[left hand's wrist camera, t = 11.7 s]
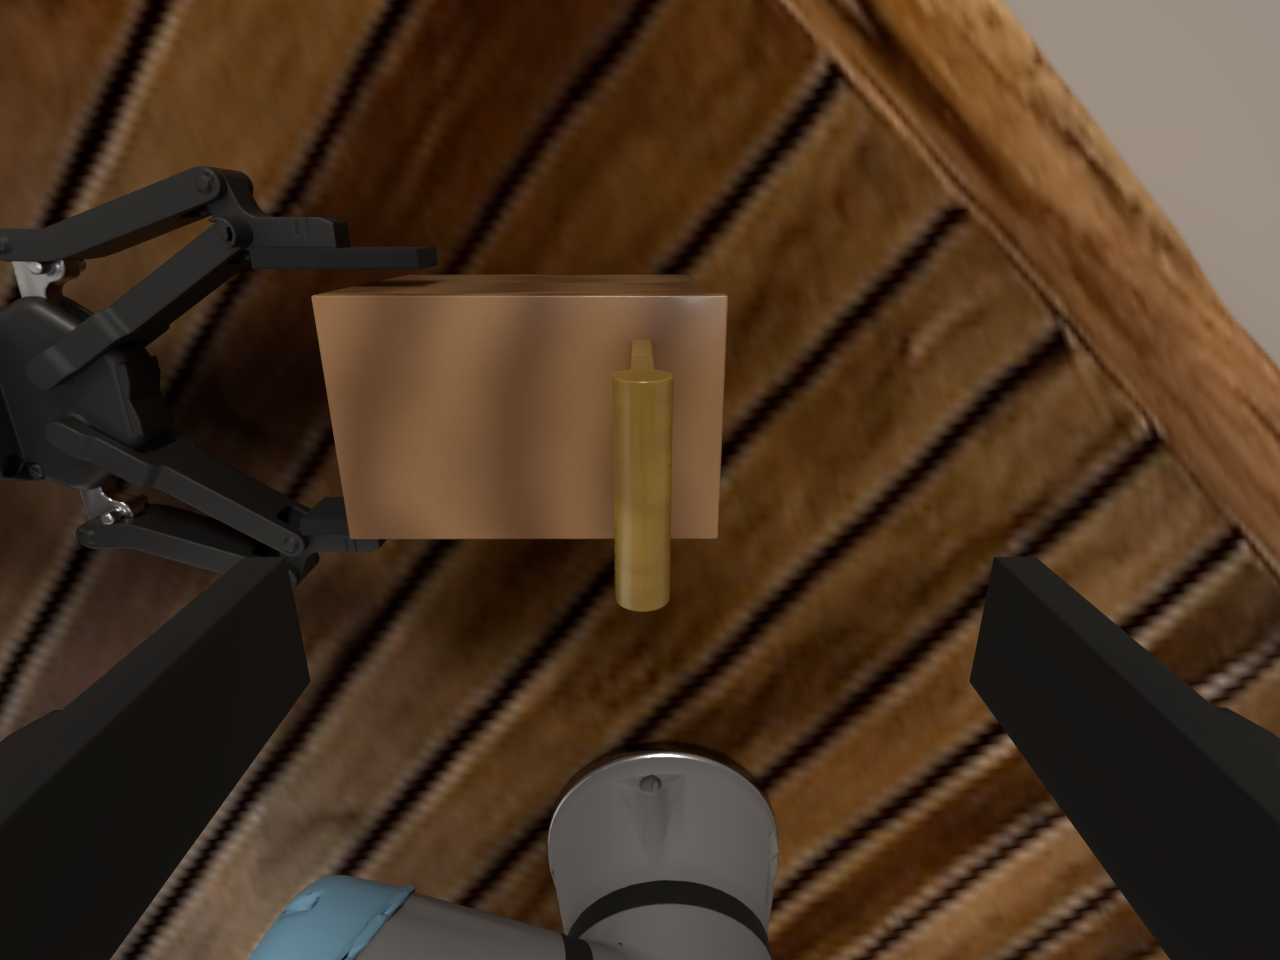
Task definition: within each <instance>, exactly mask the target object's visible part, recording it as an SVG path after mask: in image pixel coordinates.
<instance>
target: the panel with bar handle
mask: <svg viewBox="0 0 1280 960" xmlns="http://www.w3.org/2000/svg"><path fill="white" fill-rule="evenodd" d="M312 303H313V310H314V316H315V322H316V328H317V335H318V341H319V347H320V353H321V359H322V366H323V372H324V378H325V384H326V391H327V397H328V403H329V409H330V416H331V422H332V428H333V434H334V440H335V447H336V453H337V459H338V465H339V472H340V478H341V484H342V490H343V496H344V503H345V509H346V515H347V521H348V528H349V534H350V539H614V549H615V599H616V601H617V603H618V604H619V605H620V606H621V607H623V608H625V609H628V610H631V611H636V612H649V611H654V610H658V609H660V608H662V607H664V606H665V605H666V604H667V603H668V601H669V599H670V557H671V539H717V538H718V518H719V495H720V472H721V448H722V425H723V402H724V378H725V355H726V332H727V309H728V296H727V295H726V294H724V293H322V294H318V295H313V296H312Z"/></svg>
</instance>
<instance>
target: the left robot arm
mask: <svg viewBox="0 0 1280 960" xmlns="http://www.w3.org/2000/svg"><path fill="white" fill-rule="evenodd" d="M309 683H310V677H309V672H308V667H307V661H306V656H305V651H304V646H303V641H302V636H301V631H300V626H299V621H298V616H297V611H296V606H295V601H294V596H293V591H292V586H291V581H290V576H289V571H288V566H287V561H286V557H244V558H243V559H242V560H240V561H239V562H238V563H237V564H236V565H234V566H233V567H232V568H231V569H230V570H228V571H227V572H226V573H225V574H224V575H223V576H221V577H220V578H219V579H218V580H217V581H215V582H214V583H213V584H212V585H211V586H209V587H208V588H207V589H206V590H205V591H203V592H202V593H201V594H200V595H199V596H198V597H196V598H195V599H194V600H193V601H192V602H190V603H189V604H188V605H187V606H186V607H184V608H183V609H182V610H181V611H180V612H178V613H177V614H176V615H175V616H174V617H173V618H171V619H170V620H169V621H168V622H167V623H165V624H164V625H163V626H162V627H161V628H159V629H158V630H157V631H156V632H155V633H153V634H152V635H151V636H150V637H149V638H147V639H146V640H145V641H144V642H143V643H142V644H140V645H139V646H138V647H137V648H136V649H134V650H133V651H132V652H131V653H130V654H128V655H127V656H126V657H125V658H124V659H122V660H121V661H120V662H119V663H118V664H117V665H115V666H114V667H113V668H112V669H111V670H109V671H108V672H107V673H106V674H105V675H103V676H102V677H101V678H100V679H99V680H97V681H96V682H95V683H94V684H93V685H91V686H90V687H89V688H88V689H87V690H86V691H84V692H83V693H82V694H81V695H80V696H78V697H77V698H76V699H75V700H74V701H72V702H71V703H70V704H69V705H68V706H66V707H65V708H64V709H63V710H54V711H52V712H50V713H48V714H47V715H45V716H43V717H41V718H39V719H38V720H36V721H34V722H32V723H30V724H28V725H27V726H25V727H23V728H21V729H19V730H18V731H16V732H14V733H12V734H10V735H9V736H8V737H6V738H5V739H4V740H3V741H1V742H0V960H110V959H111V957H112V956H113V954H114V953H115V952H116V950H117V949H118V948H119V946H120V945H121V943H122V942H123V941H124V939H125V938H126V936H127V935H128V934H129V932H130V931H131V929H132V928H133V927H134V925H135V924H136V923H137V921H138V920H139V918H140V917H141V916H142V914H143V913H144V911H145V910H146V909H147V907H148V906H149V905H150V903H151V902H152V900H153V899H154V898H155V896H156V895H157V893H158V892H159V891H160V889H161V888H162V887H163V885H164V884H165V882H166V881H167V880H168V878H169V877H170V875H171V874H172V873H173V871H174V870H175V869H176V867H177V866H178V864H179V863H180V862H181V860H182V859H183V857H184V856H185V855H186V853H187V852H188V851H189V849H190V848H191V846H192V845H193V844H194V842H195V841H196V839H197V838H198V837H199V835H200V834H201V833H202V831H203V830H204V828H205V827H206V826H207V824H208V823H209V821H210V820H211V819H212V817H213V816H214V815H215V813H216V812H217V810H218V809H219V808H220V806H221V805H222V803H223V802H224V801H225V799H226V798H227V797H228V795H229V794H230V792H231V791H232V790H233V788H234V787H235V785H236V784H237V783H238V781H239V780H240V779H241V777H242V776H243V774H244V773H245V772H246V770H247V769H248V767H249V766H250V765H251V763H252V762H253V760H254V759H255V758H256V756H257V755H258V754H259V752H260V751H261V749H262V748H263V747H264V745H265V744H266V742H267V741H268V740H269V738H270V737H271V736H272V734H273V733H274V731H275V730H276V729H277V727H278V726H279V724H280V723H281V722H282V720H283V719H284V718H285V716H286V715H287V713H288V712H289V711H290V709H291V708H292V706H293V705H294V704H295V702H296V701H297V700H298V698H299V697H300V695H301V694H302V693H303V691H304V690H305V688H306V687H307V686H308V684H309ZM970 683H971V684H972V686H973V687H974V688H975V690H976V691H977V693H978V694H979V695H980V697H981V698H982V700H983V701H984V702H985V704H986V705H987V706H988V708H989V709H990V711H991V712H992V713H993V715H994V716H995V718H996V719H997V720H998V722H999V723H1000V724H1001V726H1002V727H1003V729H1004V730H1005V731H1006V733H1007V734H1008V736H1009V737H1010V738H1011V740H1012V741H1013V742H1014V744H1015V745H1016V747H1017V748H1018V749H1019V751H1020V752H1021V754H1022V755H1023V756H1024V758H1025V759H1026V760H1027V762H1028V763H1029V765H1030V766H1031V767H1032V769H1033V770H1034V772H1035V773H1036V774H1037V776H1038V777H1039V779H1040V780H1041V781H1042V783H1043V784H1044V785H1045V787H1046V788H1047V790H1048V791H1049V792H1050V794H1051V795H1052V797H1053V798H1054V799H1055V801H1056V802H1057V803H1058V805H1059V806H1060V808H1061V809H1062V810H1063V812H1064V813H1065V815H1066V816H1067V817H1068V819H1069V820H1070V821H1071V823H1072V824H1073V826H1074V827H1075V828H1076V830H1077V831H1078V833H1079V834H1080V835H1081V837H1082V838H1083V839H1084V841H1085V842H1086V844H1087V845H1088V846H1089V848H1090V849H1091V851H1092V852H1093V853H1094V855H1095V856H1096V857H1097V859H1098V860H1099V862H1100V863H1101V864H1102V866H1103V867H1104V869H1105V870H1106V871H1107V873H1108V874H1109V875H1110V877H1111V878H1112V880H1113V881H1114V882H1115V884H1116V885H1117V887H1118V888H1119V889H1120V891H1121V892H1122V893H1123V895H1124V896H1125V898H1126V899H1127V900H1128V902H1129V903H1130V905H1131V906H1132V907H1133V909H1134V910H1135V911H1136V913H1137V914H1138V916H1139V917H1140V918H1141V920H1142V921H1143V923H1144V924H1145V925H1146V927H1147V928H1148V929H1149V931H1150V932H1151V934H1152V935H1153V936H1154V938H1155V939H1156V941H1157V942H1158V943H1159V945H1160V946H1161V948H1162V949H1163V950H1164V952H1165V953H1166V954H1167V956H1168V957H1169V959H1170V960H1280V739H1279V738H1278V737H1277V736H1275V735H1274V734H1273V733H1271V732H1270V731H1268V730H1266V729H1264V728H1262V727H1260V726H1259V725H1257V724H1255V723H1253V722H1251V721H1250V720H1248V719H1246V718H1244V717H1242V716H1240V715H1239V714H1237V713H1235V712H1233V711H1231V710H1229V709H1228V708H1215V707H1214V706H1212V705H1211V704H1210V703H1209V702H1208V701H1206V700H1205V699H1204V698H1203V697H1202V696H1200V695H1199V694H1198V693H1197V692H1196V691H1194V690H1193V689H1192V688H1191V687H1190V686H1189V685H1187V684H1186V683H1185V682H1184V681H1183V680H1181V679H1180V678H1179V677H1178V676H1177V675H1175V674H1174V673H1173V672H1172V671H1171V670H1169V669H1168V668H1167V667H1166V666H1165V665H1163V664H1162V663H1161V662H1160V661H1159V660H1158V659H1156V658H1155V657H1154V656H1153V655H1152V654H1150V653H1149V652H1148V651H1147V650H1146V649H1144V648H1143V647H1142V646H1141V645H1140V644H1138V643H1137V642H1136V641H1135V640H1134V639H1133V638H1131V637H1130V636H1129V635H1128V634H1127V633H1125V632H1124V631H1123V630H1122V629H1121V628H1119V627H1118V626H1117V625H1116V624H1115V623H1113V622H1112V621H1111V620H1110V619H1109V618H1107V617H1106V616H1105V615H1104V614H1103V613H1102V612H1100V611H1099V610H1098V609H1097V608H1096V607H1094V606H1093V605H1092V604H1091V603H1090V602H1088V601H1087V600H1086V599H1085V598H1084V597H1082V596H1081V595H1080V594H1079V593H1078V592H1077V591H1075V590H1074V589H1073V588H1072V587H1071V586H1069V585H1068V584H1067V583H1066V582H1065V581H1063V580H1062V579H1061V578H1060V577H1059V576H1057V575H1056V574H1055V573H1054V572H1053V571H1051V570H1050V569H1049V568H1048V567H1047V566H1046V565H1044V564H1043V563H1042V562H1041V561H1040V560H1038V559H1037V558H1036V557H994V561H993V566H992V571H991V576H990V581H989V586H988V591H987V596H986V601H985V606H984V611H983V616H982V621H981V626H980V631H979V636H978V641H977V646H976V651H975V656H974V661H973V667H972V672H971V677H970ZM778 853H779V850H778V834H777V827H776V823H775V818H774V814H773V810H772V807H771V804H770V801H769V799H768V797H767V795H766V793H765V791H764V790H763V788H762V787H761V785H760V784H759V783H758V781H757V780H756V779H755V778H754V777H753V776H752V775H751V774H750V773H749V772H748V771H747V770H746V769H744V768H743V767H742V766H741V765H739V764H738V763H736V762H735V761H733V760H731V759H730V758H728V757H726V756H724V755H722V754H720V753H717V752H715V751H712V750H709V749H707V748H703V747H699V746H695V745H690V744H685V743H675V742H653V743H643V744H637V745H632V746H628V747H624V748H621V749H618V750H615V751H612V752H610V753H608V754H605V755H603V756H601V757H599V758H597V759H595V760H594V761H592V762H591V763H589V764H588V765H586V766H585V767H584V768H582V769H581V770H580V771H579V772H577V773H576V774H575V775H574V776H573V777H572V778H571V779H570V781H569V782H568V783H567V784H566V785H565V787H564V788H563V790H562V791H561V793H560V795H559V797H558V799H557V801H556V803H555V806H554V808H553V812H552V817H551V822H550V829H549V837H548V857H549V867H550V871H551V874H552V878H553V881H554V885H555V887H556V891H557V897H558V903H559V908H560V913H561V918H562V923H563V928H564V933H565V935H564V934H561V933H559V932H556V931H553V930H549V929H545V928H542V927H538V926H534V925H531V924H527V923H524V922H520V921H516V920H513V919H509V918H505V917H502V916H498V915H495V914H491V913H487V912H484V911H480V910H476V909H473V908H469V907H466V906H462V905H458V904H455V903H451V902H447V901H444V900H440V899H436V898H433V897H429V896H426V895H422V894H418V893H415V890H416V886H412V885H405V886H403V887H397V886H392V885H388V884H383V883H378V882H374V881H369V880H364V879H360V878H355V877H351V876H345V875H335V876H329V877H325V878H322V879H319V880H317V881H315V882H314V883H312V884H310V885H309V886H307V887H306V888H305V889H303V890H302V891H301V892H300V893H299V894H298V895H297V896H296V897H295V898H294V899H293V900H292V901H291V902H290V903H289V904H288V905H287V907H286V908H285V909H284V910H283V912H282V913H281V914H280V915H279V917H278V918H277V919H276V921H275V922H274V923H273V925H272V926H271V927H270V929H269V930H268V932H267V933H266V934H265V936H264V937H263V939H262V940H261V942H260V943H259V944H258V946H257V947H256V949H255V950H254V952H253V953H252V955H251V956H250V958H249V959H248V960H772V958H771V952H770V946H769V941H768V934H767V933H768V926H769V919H770V912H771V906H772V899H773V891H774V878H775V875H776V871H777V865H778Z"/></svg>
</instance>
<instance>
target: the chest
mask: <svg viewBox="0 0 1280 960" xmlns="http://www.w3.org/2000/svg"><path fill="white" fill-rule="evenodd" d="M326 293H706V292H705V291H704V290H703V289H702V288H701V287H700V286H699V285H698V284H697V283H696V282H695V281H694V280H693V279H692V278H691V277H690V276H689V275H406V276H401V277H396V278H391V279H387V280H382V281H377V282H373V283H368V284H363V285H359V286H354V287H349V288H345V289H340V290H336V291H331V292H326Z"/></svg>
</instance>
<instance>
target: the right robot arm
mask: <svg viewBox="0 0 1280 960" xmlns="http://www.w3.org/2000/svg"><path fill="white" fill-rule="evenodd" d="M252 194H253V185H252V182H251V180H250V179H249V177H248V176H247V175H245V174H244V173H243V172H239V171H235V170H228V169H220V168H213V167H205V166H198V167H194V168H191V169H189V170H186V171H184V172H181V173H179V174H177V175H174V176H172V177H169V178H167V179H164V180H162V181H159V182H157V183H154V184H152V185H149V186H147V187H144V188H142V189H140V190H137V191H135V192H132V193H130V194H127V195H125V196H122V197H120V198H117V199H115V200H112V201H110V202H107V203H105V204H103V205H100V206H98V207H95V208H93V209H90V210H88V211H85V212H83V213H80V214H78V215H75V216H73V217H70V218H68V219H66V220H63V221H61V222H58V223H56V224H53V225H51V226H48V227H46V228H43V229H0V260H3V261H12V265H13V268H14V272H15V276H16V279H17V283H18V286H19V290H20V293H21V297H22V298H20V299H18V300H16V301H14V302H13V303H12V304H10V305H9V306H7V307H0V481H30V480H52V481H56V482H59V483H61V484H64V485H66V486H68V487H70V488H73V489H77V490H79V491H80V494H81V497H82V500H83V503H84V506H85V509H86V512H87V516H88V519H89V521H88V522H87V523H85V524H83V525H81V526H80V527H79V528H77V531H76V537H77V539H78V541H79V542H80V543H81V544H82V545H84V546H86V547H88V548H92V549H103V548H132V549H135V550H139V551H143V552H146V553H150V554H153V555H157V556H160V557H164V558H167V559H171V560H174V561H178V562H181V563H185V564H188V565H192V566H195V567H199V568H203V569H206V570H210V571H213V572H217V573H220V574H225V573H226V572H227V571H228V570H230V569H231V568H232V567H233V566H234V565H236V564H237V563H238V562H239V561H240V560H242V559H243V558H244V557H286V561H287V566H288V571H289V576H290V581H291V586H292V589H294V588H295V587H296V586H297V585H298V584H299V583H300V582H301V581H302V580H303V579H304V577H305V576H306V575H307V574H308V573H309V572H310V571H311V570H312V569H313V568H314V567H315V566H316V565H317V564H318V562H319V555H318V553H317V552H371V551H374V550H376V549H379V548H380V547H381V546H382V545H383V543H384V542H385V541H386V540H387V539H350V534H349V528H348V521H347V515H346V509H345V503H344V497H325V498H324V499H323V500H322V501H321V502H319V503H318V504H317V505H316V506H315V507H314V508H312V509H309V508H307V507H306V506H304V505H302V504H300V503H298V502H296V501H294V500H292V499H291V498H289V497H287V496H285V495H283V494H281V493H279V492H277V491H276V490H274V489H272V488H270V487H268V486H266V485H264V484H262V483H261V482H259V481H257V480H255V479H253V478H251V477H249V476H247V475H246V474H244V473H242V472H240V471H238V470H236V469H234V468H232V467H231V466H229V465H227V464H225V463H223V462H221V461H219V460H217V459H216V458H214V457H212V456H210V455H208V454H206V453H204V452H202V451H201V450H199V449H198V448H197V443H196V442H195V441H194V440H192V439H190V438H189V437H187V436H185V435H183V434H181V433H179V432H177V431H175V430H174V429H172V428H170V427H168V426H167V425H169V424H172V423H173V422H172V418H171V414H170V410H169V406H168V404H167V402H166V401H165V399H164V397H163V395H162V393H161V391H160V369H159V364H158V360H157V356H150V355H149V353H148V351H147V350H146V349H145V347H146V346H147V345H148V344H150V343H151V342H152V341H154V340H155V339H156V338H158V337H159V336H160V335H162V334H163V333H164V332H165V331H167V330H168V329H169V325H170V324H171V323H172V322H173V321H175V320H176V319H177V318H179V317H180V316H181V315H182V314H184V313H185V312H186V311H188V310H189V309H190V308H192V307H193V306H194V305H196V304H197V303H198V302H199V301H201V300H202V299H203V298H205V297H206V296H207V295H209V294H210V293H211V292H212V291H214V290H215V289H216V288H218V287H219V286H220V285H222V284H223V283H224V282H226V281H227V280H228V279H229V278H231V277H232V276H233V275H235V274H236V273H237V272H239V271H240V270H241V269H243V268H244V267H245V266H246V265H248V264H249V263H250V262H251V264H252V269H421V268H426V267H431V266H436V265H437V255H436V247H350V241H349V234H348V227H347V222H344V221H342V220H339V219H337V218H334V217H272V216H269V215H267V214H266V213H264V212H263V211H262V210H261V209H260V208H259V206H258V205H257V203H256V201H255V199H254V197H253V196H252ZM211 215H212V216H213V217H212V218H210V219H208V220H209V221H210V222H216V223H215V224H213V225H212V226H211V227H210V228H208V229H207V230H206V231H204V232H203V233H202V234H201V235H199V236H198V237H197V238H196V239H194V240H193V241H192V242H191V243H189V244H188V245H187V246H185V247H184V248H183V249H182V250H180V251H179V252H178V253H177V254H175V255H174V256H173V257H172V258H170V259H169V260H168V261H167V262H165V263H164V264H163V265H161V266H160V267H159V268H158V269H156V270H155V271H154V272H153V273H151V274H150V275H149V276H148V277H146V278H145V279H144V280H143V281H141V282H140V283H139V284H137V285H136V286H135V287H134V288H132V289H131V290H130V291H129V292H127V293H126V294H125V295H124V296H122V297H121V298H120V299H119V300H117V301H116V302H115V303H113V304H112V305H111V306H109V307H108V308H106V309H104V310H101V311H99V312H97V313H95V314H94V313H93V312H91V311H89V310H88V309H86V308H85V307H83V306H81V305H80V304H78V303H77V302H75V301H73V300H72V299H70V298H68V297H65V296H63V294H62V288H63V285H64V284H65V283H66V282H67V281H69V280H73V279H76V278H77V277H78V276H79V275H80V273H81V271H84V270H85V269H86V263H85V261H84V260H83V259H94V258H100V257H105V256H108V255H111V254H114V253H117V252H120V251H122V250H125V249H127V248H130V247H132V246H135V245H137V244H140V243H142V242H145V241H147V240H150V239H152V238H155V237H157V236H160V235H163V234H165V233H168V232H170V231H173V230H175V229H178V228H180V227H183V226H185V225H188V224H190V223H193V222H195V221H198V220H200V219H203V218H206V217H208V216H211ZM151 450H153V452H151V453H148V452H149V451H151ZM147 453H148V454H147ZM118 477H120V478H122V479H124V480H126V481H128V482H130V483H132V484H134V485H136V486H139V487H153V488H157V489H159V490H161V491H163V492H165V493H167V494H169V495H171V496H173V497H175V498H177V499H178V500H180V501H182V502H184V503H186V504H188V505H190V506H192V507H194V508H196V509H198V510H200V511H202V512H204V513H206V514H208V515H209V516H211V517H213V518H210V517H207V516H203V515H200V514H197V513H193V512H190V511H186V510H183V509H179V508H176V507H172V506H167V505H160V504H148V499H147V497H146V496H144V495H138V496H135V495H132V494H127V493H125V492H123V491H121V490H120V489H119V488H118V487H117V486H116V484H115V481H114V480H115V479H117V478H118ZM214 518H215V519H214Z"/></svg>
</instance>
